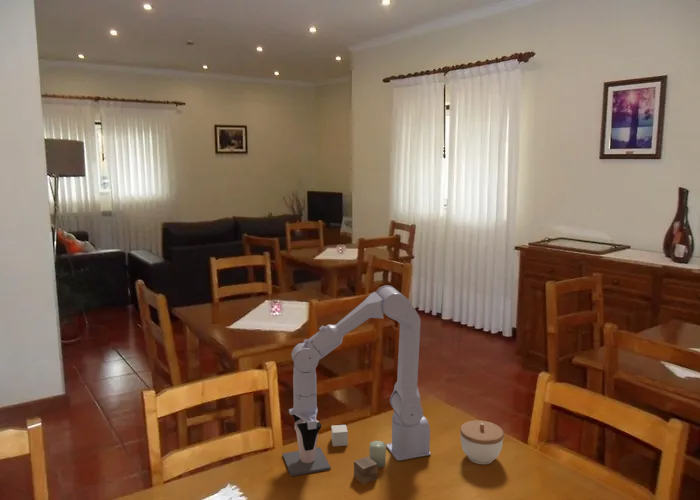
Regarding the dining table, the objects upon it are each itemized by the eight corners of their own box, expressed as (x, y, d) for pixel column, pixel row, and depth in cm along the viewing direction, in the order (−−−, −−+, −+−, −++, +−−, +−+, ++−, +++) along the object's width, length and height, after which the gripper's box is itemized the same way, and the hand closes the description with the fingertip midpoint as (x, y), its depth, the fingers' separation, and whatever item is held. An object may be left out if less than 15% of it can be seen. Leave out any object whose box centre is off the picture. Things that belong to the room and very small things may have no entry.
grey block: (345, 438, 153) (345, 424, 153) (347, 445, 149) (347, 431, 149) (331, 439, 153) (331, 425, 152) (332, 446, 149) (332, 432, 148)
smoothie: (316, 467, 138) (316, 415, 135) (291, 464, 139) (290, 412, 136) (322, 453, 144) (322, 403, 141) (298, 450, 145) (297, 400, 142)
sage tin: (381, 457, 143) (382, 439, 142) (387, 466, 140) (388, 447, 139) (367, 460, 142) (367, 442, 141) (372, 468, 138) (372, 450, 137)
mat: (320, 449, 147) (320, 447, 147) (330, 469, 138) (330, 467, 138) (282, 455, 144) (282, 453, 144) (290, 476, 135) (290, 474, 135)
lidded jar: (487, 444, 150) (489, 411, 148) (510, 465, 140) (512, 430, 138) (451, 451, 147) (453, 417, 145) (472, 472, 137) (474, 437, 135)
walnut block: (367, 471, 137) (367, 456, 137) (377, 479, 134) (377, 463, 133) (353, 476, 135) (353, 461, 135) (363, 484, 132) (363, 469, 131)
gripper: (283, 382, 144) (284, 431, 146) (295, 406, 130) (296, 460, 132) (309, 379, 146) (310, 427, 148) (324, 402, 132) (325, 455, 134)
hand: (305, 442), depth 140 cm, fingers closed on smoothie, 6 cm apart
